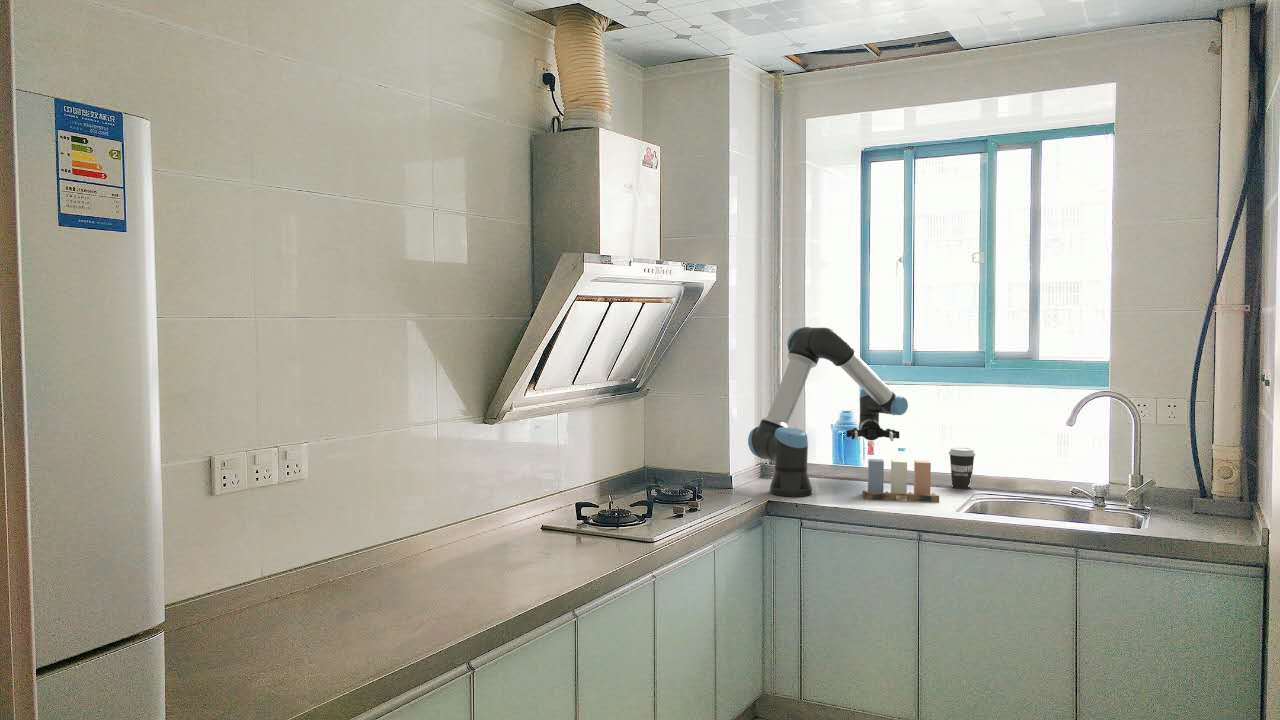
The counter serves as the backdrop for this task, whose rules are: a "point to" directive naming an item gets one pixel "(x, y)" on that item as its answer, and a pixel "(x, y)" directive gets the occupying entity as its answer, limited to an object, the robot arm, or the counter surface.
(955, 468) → the coffee cup
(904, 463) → the key
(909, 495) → the brown wooden flat board
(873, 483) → the blue-grey tall block
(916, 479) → the brown tall block
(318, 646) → the counter surface
